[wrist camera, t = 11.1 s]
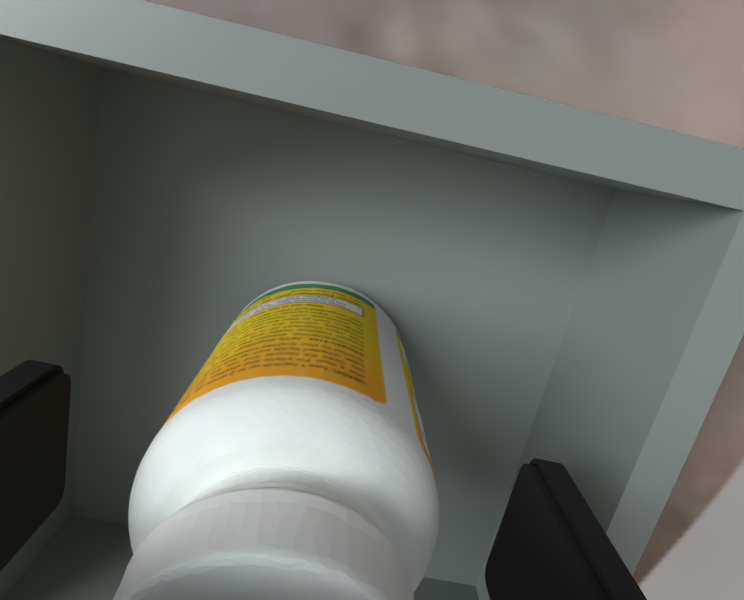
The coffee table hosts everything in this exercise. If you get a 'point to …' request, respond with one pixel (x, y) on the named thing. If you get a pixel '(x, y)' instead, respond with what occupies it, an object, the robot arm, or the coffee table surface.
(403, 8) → the coffee table surface
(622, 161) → the tote
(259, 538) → the supplement bottle
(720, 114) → the coffee table surface
